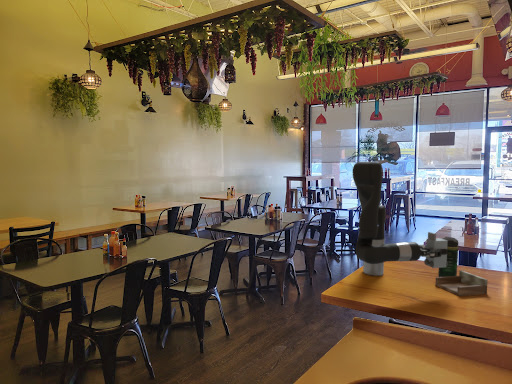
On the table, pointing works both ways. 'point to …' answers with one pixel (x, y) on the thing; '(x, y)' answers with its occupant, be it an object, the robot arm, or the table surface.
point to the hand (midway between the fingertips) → (442, 250)
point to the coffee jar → (450, 258)
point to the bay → (463, 284)
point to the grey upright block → (436, 244)
